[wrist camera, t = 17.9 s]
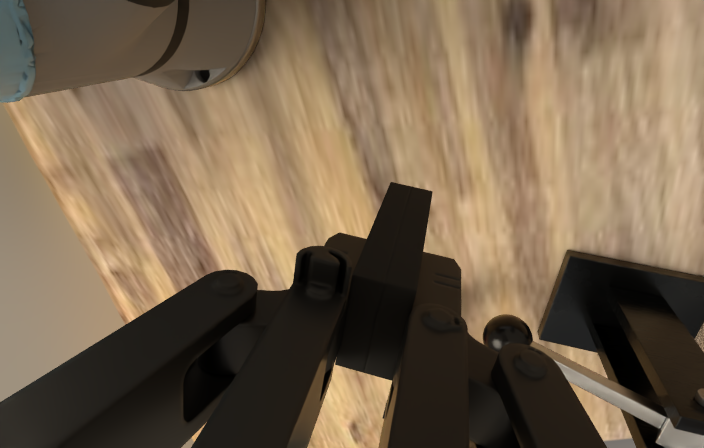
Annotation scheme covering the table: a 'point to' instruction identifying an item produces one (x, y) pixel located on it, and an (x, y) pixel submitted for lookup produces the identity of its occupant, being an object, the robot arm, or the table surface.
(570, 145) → the table surface
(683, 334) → the switch bracket
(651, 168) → the table surface
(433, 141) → the table surface
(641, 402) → the switch lever
